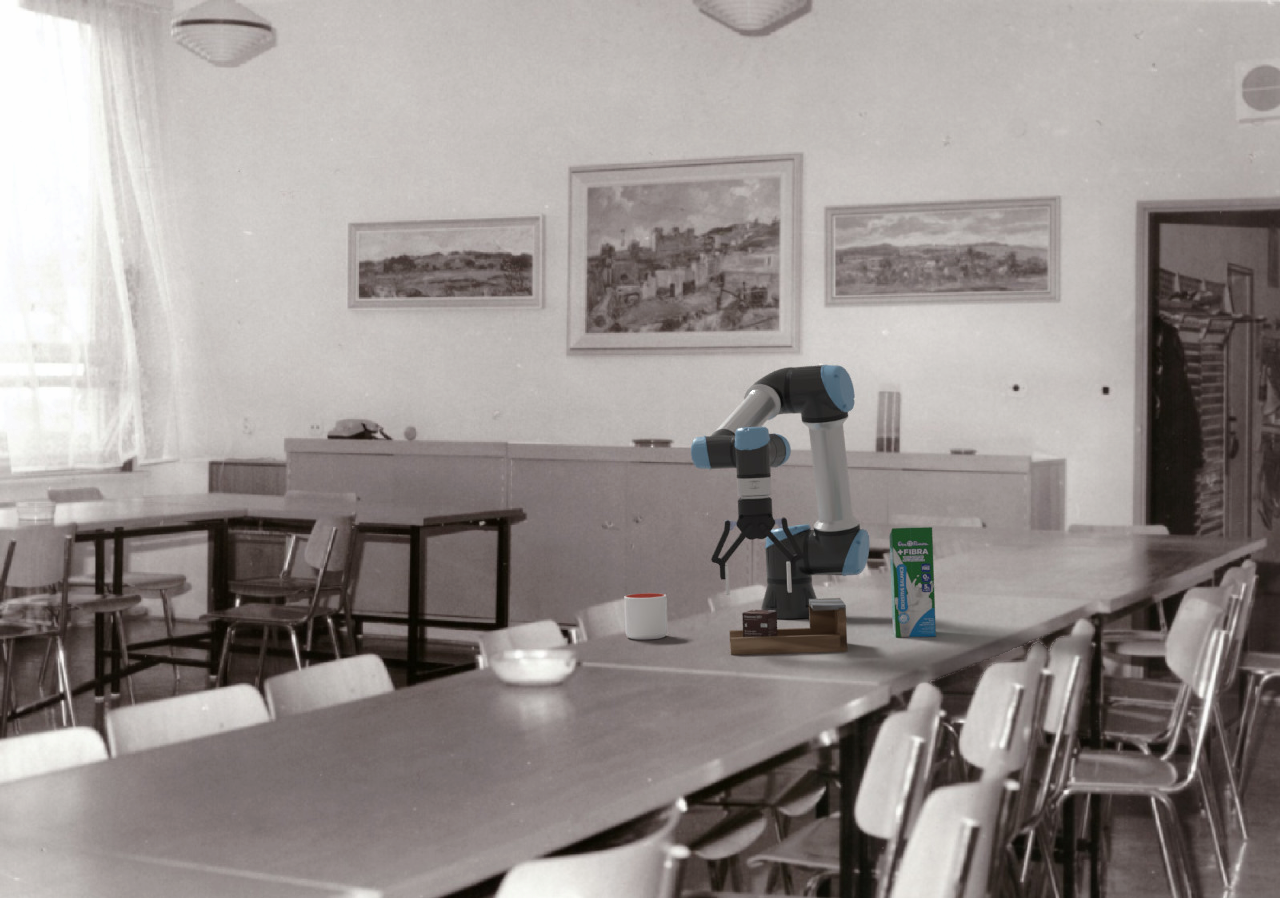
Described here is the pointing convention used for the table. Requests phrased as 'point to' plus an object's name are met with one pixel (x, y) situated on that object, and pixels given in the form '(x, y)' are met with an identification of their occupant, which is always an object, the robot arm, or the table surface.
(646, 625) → the cup
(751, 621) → the box
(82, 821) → the table surface
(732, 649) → the channel
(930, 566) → the milk carton
